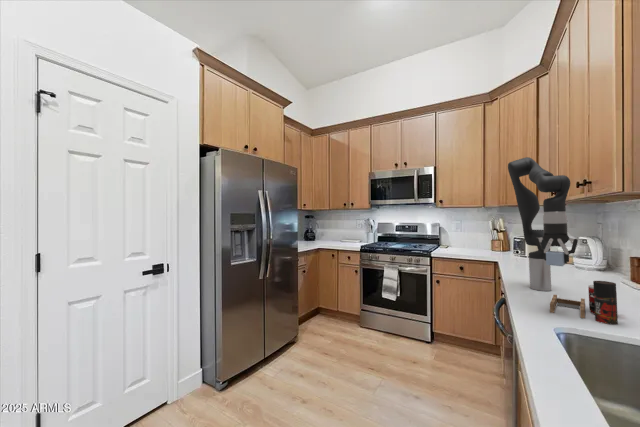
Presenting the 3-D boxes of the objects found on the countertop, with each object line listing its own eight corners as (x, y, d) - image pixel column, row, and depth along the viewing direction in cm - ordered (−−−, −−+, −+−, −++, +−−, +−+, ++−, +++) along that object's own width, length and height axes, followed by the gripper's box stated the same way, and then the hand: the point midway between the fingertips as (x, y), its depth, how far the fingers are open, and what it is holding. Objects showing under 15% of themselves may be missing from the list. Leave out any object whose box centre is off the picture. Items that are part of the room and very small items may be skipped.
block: (549, 262, 114) (549, 251, 114) (565, 263, 111) (564, 251, 111) (546, 264, 109) (545, 252, 109) (562, 266, 105) (562, 253, 105)
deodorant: (591, 319, 103) (589, 281, 103) (600, 317, 104) (599, 280, 105) (612, 325, 97) (610, 284, 97) (621, 323, 99) (619, 283, 99)
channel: (554, 301, 125) (553, 294, 125) (585, 306, 117) (584, 298, 117) (550, 312, 111) (549, 304, 112) (584, 318, 104) (584, 309, 104)
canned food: (591, 309, 114) (590, 283, 114) (619, 314, 108) (617, 287, 108) (587, 313, 110) (586, 286, 110) (615, 318, 103) (614, 290, 103)
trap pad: (558, 303, 122) (558, 302, 123) (579, 306, 117) (579, 305, 117) (557, 305, 119) (557, 305, 119) (579, 309, 114) (579, 308, 114)
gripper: (532, 222, 114) (533, 262, 113) (578, 222, 103) (580, 265, 103) (534, 222, 119) (536, 259, 119) (578, 222, 109) (580, 263, 108)
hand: (556, 262), depth 111 cm, fingers closed on block, 5 cm apart
